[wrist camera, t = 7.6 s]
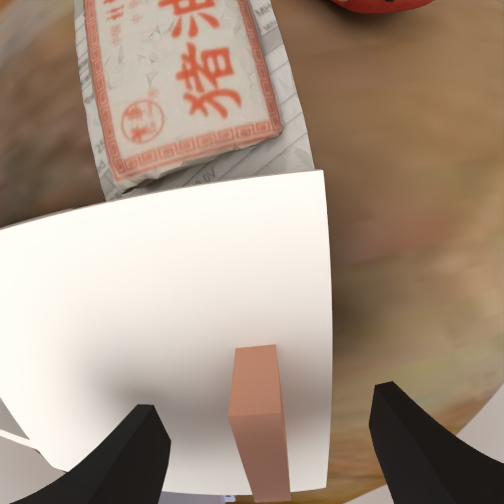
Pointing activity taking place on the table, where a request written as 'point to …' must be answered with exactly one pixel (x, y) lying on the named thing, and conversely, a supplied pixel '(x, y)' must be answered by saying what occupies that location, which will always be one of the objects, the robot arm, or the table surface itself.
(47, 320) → the carton lid
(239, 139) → the packaged product
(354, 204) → the table surface
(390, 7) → the apple
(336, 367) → the table surface
